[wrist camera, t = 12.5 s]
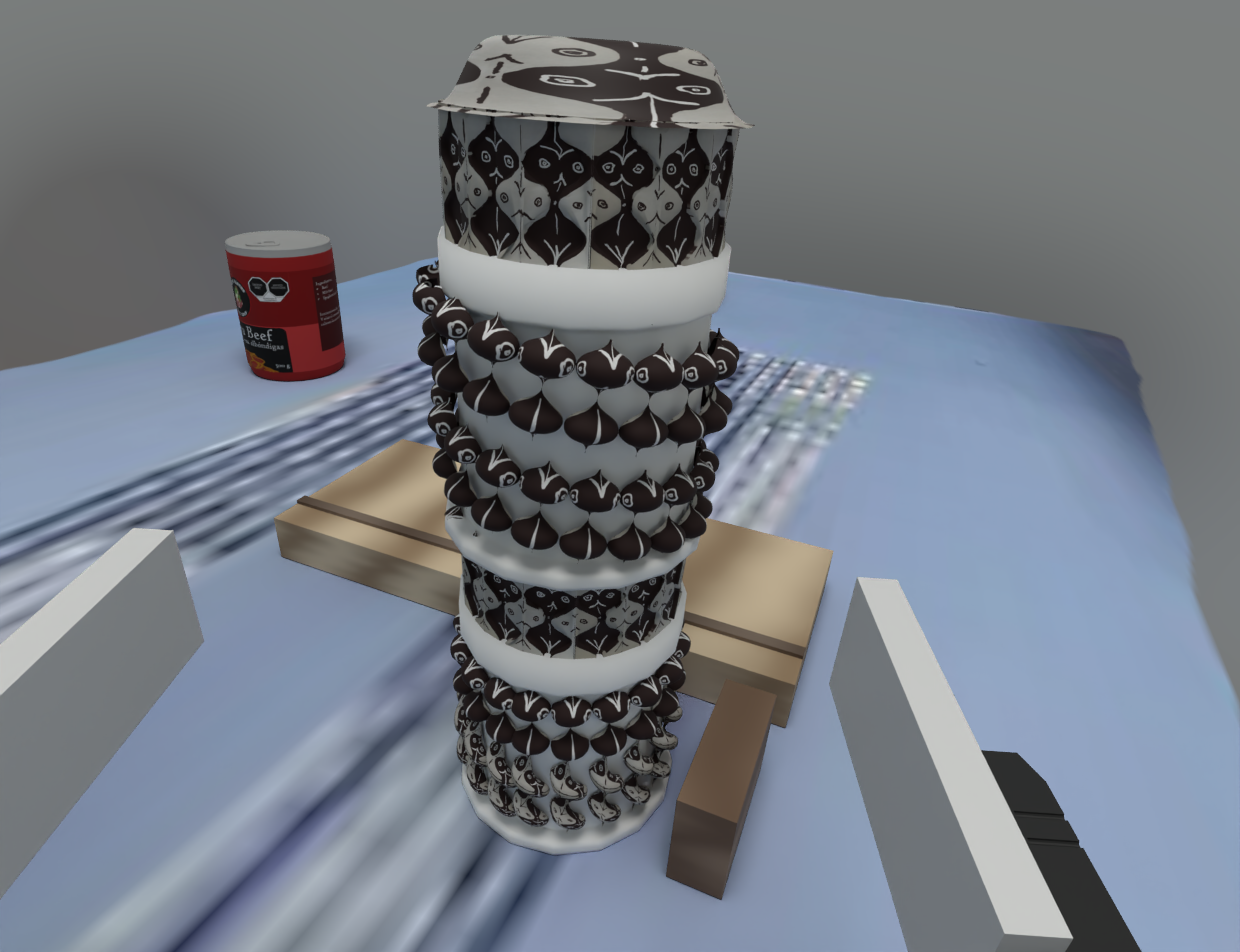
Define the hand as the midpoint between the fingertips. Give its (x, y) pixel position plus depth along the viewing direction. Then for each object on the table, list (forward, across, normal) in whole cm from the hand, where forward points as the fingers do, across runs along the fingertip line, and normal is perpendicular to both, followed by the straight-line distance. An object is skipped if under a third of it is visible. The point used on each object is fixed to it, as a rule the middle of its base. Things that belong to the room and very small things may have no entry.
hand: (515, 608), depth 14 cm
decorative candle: (+9, 0, -15) cm, 18 cm away
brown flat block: (+7, +6, -15) cm, 18 cm away
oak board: (+22, -2, -15) cm, 26 cm away
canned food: (+49, -27, -15) cm, 58 cm away
